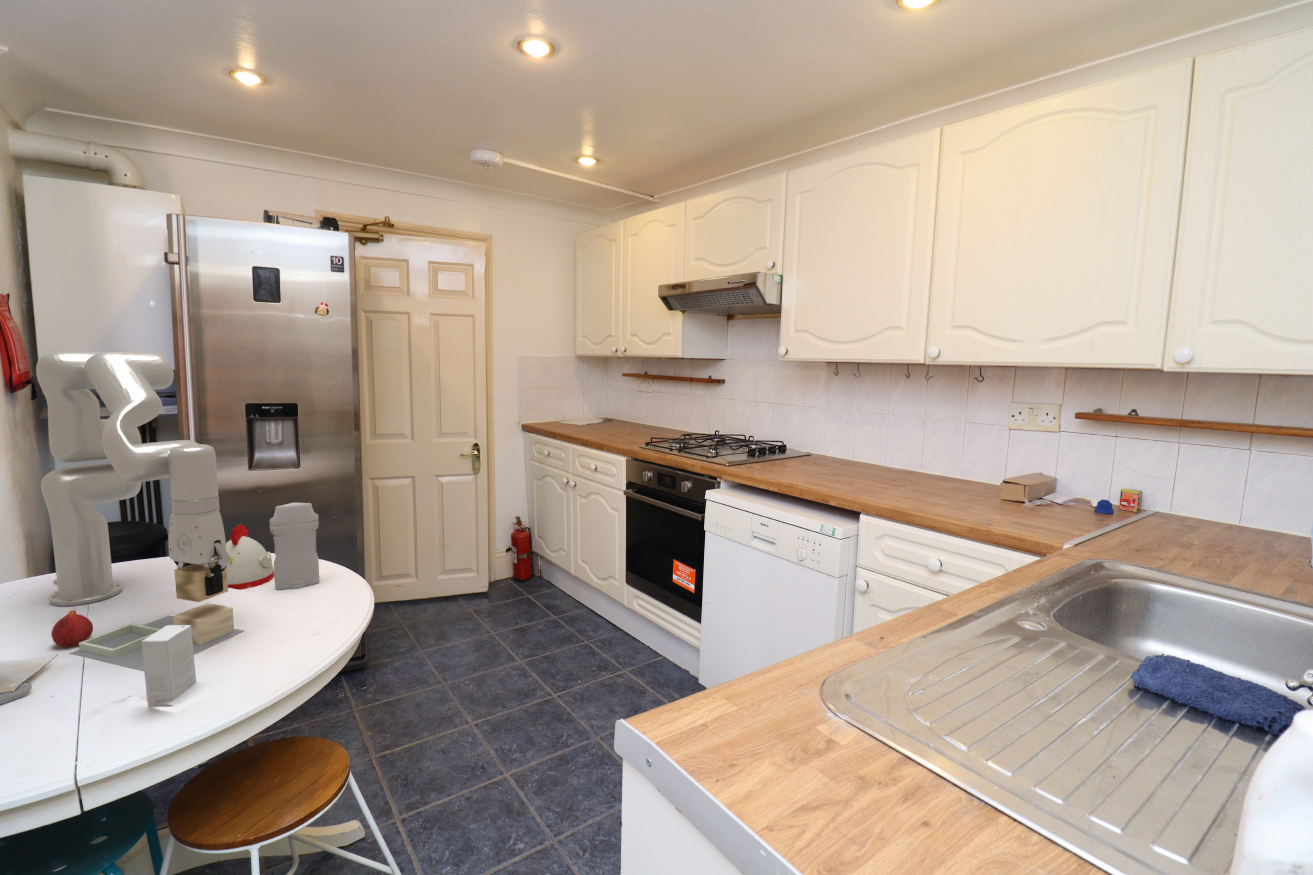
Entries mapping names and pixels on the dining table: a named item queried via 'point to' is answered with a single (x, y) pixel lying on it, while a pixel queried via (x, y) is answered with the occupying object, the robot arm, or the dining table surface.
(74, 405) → the robot arm
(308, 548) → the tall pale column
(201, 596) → the cube
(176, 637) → the skincare box
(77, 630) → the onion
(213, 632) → the brown rectangular block
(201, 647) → the board
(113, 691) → the dining table surface
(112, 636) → the socket
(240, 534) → the kitchen timer
